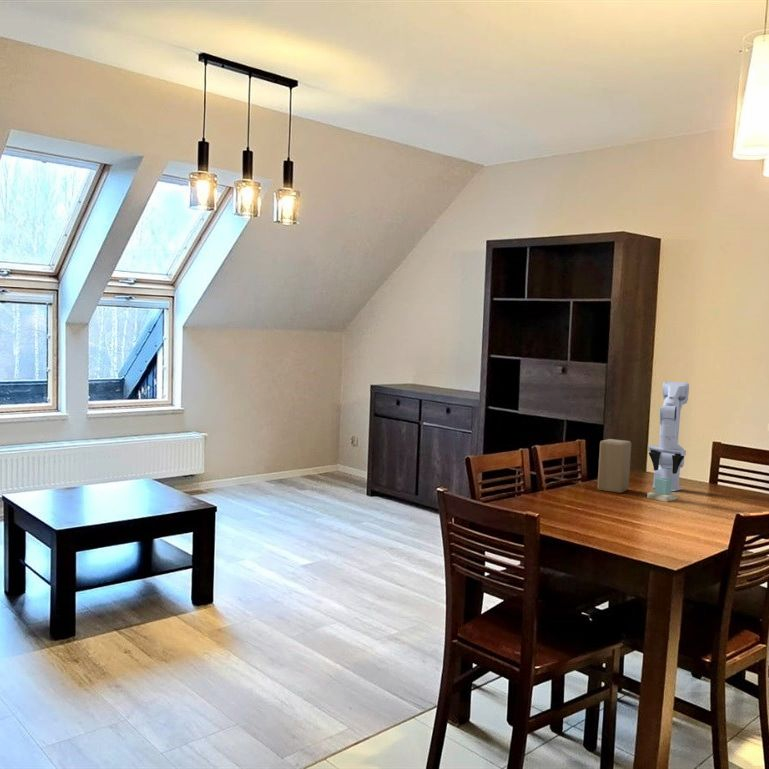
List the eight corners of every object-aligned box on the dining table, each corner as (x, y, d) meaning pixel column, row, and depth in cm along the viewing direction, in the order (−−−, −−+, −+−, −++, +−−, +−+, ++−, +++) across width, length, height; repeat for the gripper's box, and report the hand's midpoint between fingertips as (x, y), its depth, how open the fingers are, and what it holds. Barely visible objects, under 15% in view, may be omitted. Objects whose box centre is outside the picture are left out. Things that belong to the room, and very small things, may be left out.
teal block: (654, 493, 296) (655, 478, 295) (659, 491, 299) (660, 477, 298) (665, 495, 292) (666, 480, 292) (670, 493, 295) (671, 479, 295)
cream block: (647, 497, 296) (647, 492, 296) (657, 495, 301) (657, 490, 301) (666, 501, 290) (667, 496, 290) (677, 499, 295) (677, 494, 295)
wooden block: (605, 486, 316) (607, 438, 315) (629, 490, 310) (632, 441, 309) (596, 490, 308) (599, 440, 307) (621, 493, 302) (624, 443, 301)
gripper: (644, 435, 297) (642, 469, 298) (680, 439, 286) (678, 475, 287) (653, 433, 302) (651, 468, 303) (689, 438, 291) (687, 474, 292)
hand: (665, 471), depth 295 cm, fingers open, 7 cm apart
